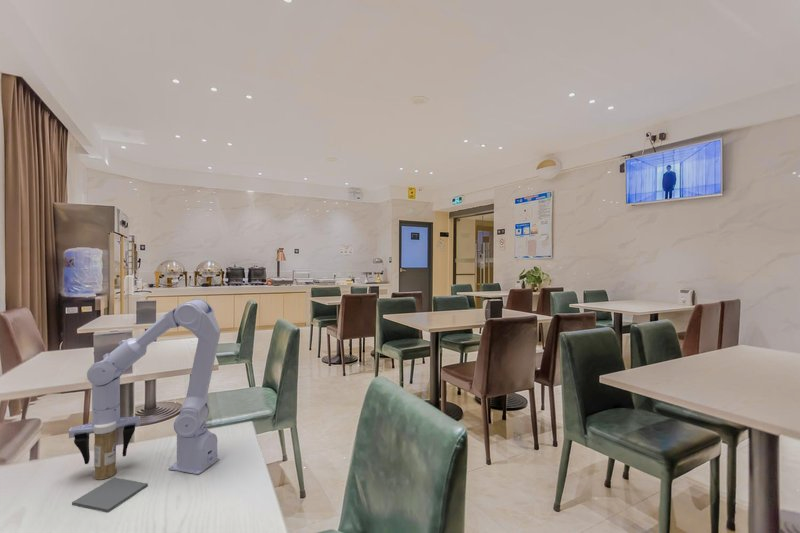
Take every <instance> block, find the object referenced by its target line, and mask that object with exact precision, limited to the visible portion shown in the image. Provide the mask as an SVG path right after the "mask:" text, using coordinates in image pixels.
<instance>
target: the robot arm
mask: <svg viewBox="0 0 800 533" xmlns="http://www.w3.org/2000/svg"><path fill="white" fill-rule="evenodd" d="M214 312H215V310H214V308H213V307H212V306H211V304H209V303H208V302H207V301H206V300H204V299H203V298H193V299H191V300H189V301H187V302H181V303H180V304H179V305H177V307H175V308H173V309H170V310H169V311H168V312H167V313H165V314H163V315H162V316H161V317H160V318H159V319H158V320H156V321H155V322H154V323H153V324H152V325H150V326H149V327H148V328H147V329H146V330H144V332H142V333H141V334H140V335H139V336H138V337H136V338H135V337H129V338H127V339H123V340H120V341H119V342H118V346H117V347H116V348H115V349H113V350H112V351H110V353H109V352H107V353H105V354H104V355H103V356H102V360H100V361H97V362H94V363H93V364H91V366H90V367H89V368H88V370H87V372H86V376H87V378H86V379H87V380H88V381H89V383H90V384H91V417H92V418H91V422H88V423H85V424H81V425H78V426H72V427H70V428H69V430H68V439H72V438H74V440H73V442H74V445H75V446H76V448H78V450H79V451H80V454H81V455H82V458H83V461H84V465H89V462H90V458H91V456H90V455H91V454H90V434H94V425H103V424H109V423H112V422H115V421H116V430H118V429H122V440H123V442H122V457H126V456H127V450H128V447H129V444H130V441H131V439H132V437H133V436H134V433H135V431H136V427H140V426H141V416H140V415H139V416H128V417H121V376H122V375H123V374H124V373H125V371H126V370H127V369H129V368H130V367H131V366H133V365H134V364H135V363H136V362H137V361H139V360H140V359H141V358H142V357H144V356H145V355H146V353H147V349H148V348H147V347H148V346H149V345H150V344H152V343H153V342H155V340H157V339H158V338H159V337H161V336H162V335H164V334H165V333H167V331H169V330H170V329H173V328H174V329H176V328H179V327H183V328H185V329H187V330H188V331H190V332H191V333H192V334H193V335H194V336H195V337H196V338H197V339H198V341H197V344H196V349H195V354H194V359H193V363H192V366H191V367H192V368H191V372H190V377H189V382H188V387H187V391H186V396H185V399H184V400H183V403H182V406H181V407H180V413H179V414H178V416H177V417H176V418H175V420H174V422H173V429H174V432H175V434H176V462H174V463H173V464H171V465H169V466H168V470H171V471H177V472H184V473H188V474H194V475H199V474H200V475H201V473H202V472H204V471H205V470H207V469H208V468H209V467H210V466H212V465H213V464H215V463H216V462H217V461H218V460H219V459H220V457H219V456H218V437H217V435H216V434H215V433H214V432H211V431H210V430H209V429H208V425H207V422H206V420H207V419H208V417H209V414H210V406H209V404H208V403H209V396H208V393H209V388H210V384H211V378H212V374H213V370H214V364H215V359H216V355H217V350H218V346H219V342H220V337H221V329H220V327H219V324H218V321H217V319H216V316H215V313H214Z"/></svg>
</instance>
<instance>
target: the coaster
mask: <svg viewBox="0 0 800 533" xmlns="http://www.w3.org/2000/svg"><path fill="white" fill-rule="evenodd" d="M148 483H149V482H148ZM148 483H146V482H142V481H136V480H131V479H126V478H125V479H124V478H119V477H113V478H111V479H109V480H107V481H106V482H104V483H102V484H100V485H99V486H97V487H96V488H93V489H92V490H90V491H88V492H87V493H85V494H84V495H81V496H80V497H79V498H77V499H74V500H73V501H71V505H72V506H77V507H81V508H85V509H91V510H95V511H100V512H104V513H105V512H106V513H109V512H111V511H112V510H114V509H115V508H117V507H119V506H120V505H121V504H123V503H124V502H126V501H128V500H129V499H130V498H132V497H133V496H135V495H136V494H138V493H139V492H141V491H142V490H144V489H145V488H147V487H148V485H149V484H148Z"/></svg>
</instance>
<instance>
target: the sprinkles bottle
mask: <svg viewBox="0 0 800 533" xmlns="http://www.w3.org/2000/svg"><path fill="white" fill-rule="evenodd" d="M116 430H117V429H116V421H115V422H112V423H109V424H103V425H94V433H93V434H94V446H93V447H94V448H93V452H94V455H93V457H94V458H93V459H94V461H93V462H94V475H93V478H94V479H95V480H99V481H100V480H105V479H109V478H111V477H113V476H114V475H115V474H116V473H117V469H116V468H117V467H116V466H117V465H116V462H117V453H116V452H117V442H116V441H117V440H116Z"/></svg>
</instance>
